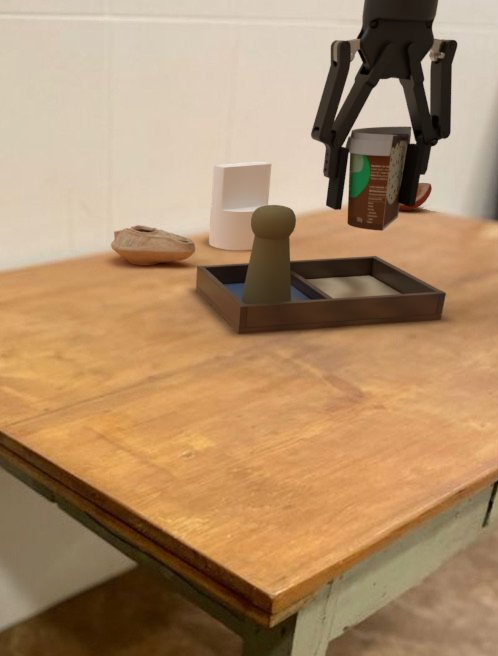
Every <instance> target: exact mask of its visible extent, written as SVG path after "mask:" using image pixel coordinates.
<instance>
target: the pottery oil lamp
mask: <svg viewBox="0 0 498 656" xmlns="http://www.w3.org/2000/svg"><path fill="white" fill-rule="evenodd" d="M113 236H114V237H113V238H114V239H113V241H112V242H111V243H110V248H111V250H113V251H114V252H115V253H116V254H118V255H119V256H120V257H121V258H123V260H126V261H128V262H129V263H130V264H132V265H137V266H154V265H157V264H159V263H169V262H170V263H171V262H179V261H183V260H187V259H188V258H190V257H191V256H193V254H194V253H195V252H196V245H195V242H194V241H193V240H192V239H190V238H188V237H185V236H182V235H179V234H177V233H173V232H169V231H165V230H163V229H158V228H157V227H150V226H147V225H140V224H138V225H137V224H136V225H133V226H130V227H129V228H127V227H125V228H123V229H119V230H114V231H113Z"/></svg>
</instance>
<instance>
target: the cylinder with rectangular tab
mask: <svg viewBox="0 0 498 656" xmlns="http://www.w3.org/2000/svg"><path fill="white" fill-rule="evenodd" d="M271 174H272V163H271V162H268V161H263V160H258V161H256V160H255V161H245V162H234V163H233V162H232V163H222V164H221V163H219V164H213V170H212V187H211V188H212V192H211V205H210V215H209V231H208V232H209V233H208V234H209V235H208V244H209V246H211V247H213V248H216V249H220V250H221V249H222V250H227V251H252V246H253V241H254V236H255V235H254V233H253V231H252V228H251V218H252V214H253V213H254V211H255V210H256V209H257V208H259V207H261V206H266V205H269V199H270V188H271V187H270V186H271Z"/></svg>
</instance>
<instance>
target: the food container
mask: <svg viewBox="0 0 498 656" xmlns="http://www.w3.org/2000/svg"><path fill="white" fill-rule="evenodd" d="M350 132H351V133H350V135H348V136H347V139H346V140H347V141H346V144H345V148H348V149H349V167H348V168H349V169H348V171H349V172H348V173H349V174H348V196H347V197H348V198H347V199H348V200H347V221H346V222H347V225H348V226H351V227H353V228H357V229H362V230H370V231H371V230H372V231H381V232H382V231H384V230H385V229H386V228H388V227H389V225H391V224H392V223H394V221H396V220H397V219H398V218H399V212H400V209H399V206H400V203H398V199H399V193H400V187H401V181H402V175H403V169H404V163H405V157H406V151H407V145H408V144H411V137H412V126H376V127H375V126H373V127H361V128H355V129H351V131H350Z"/></svg>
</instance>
